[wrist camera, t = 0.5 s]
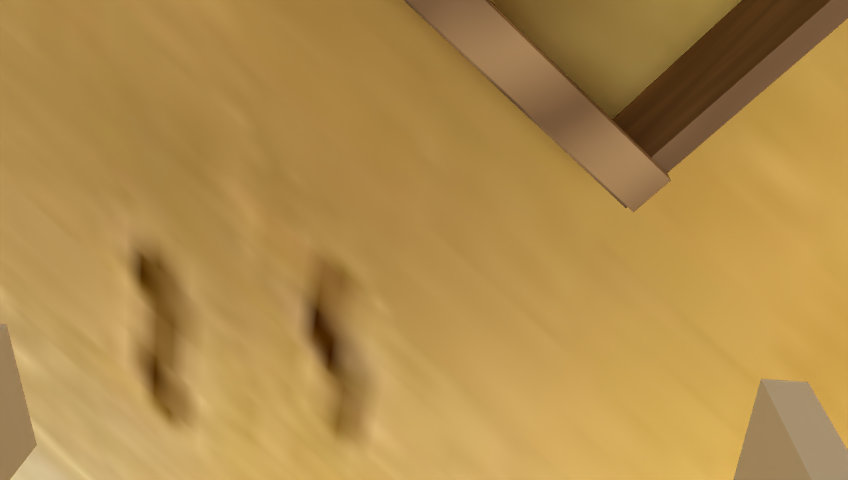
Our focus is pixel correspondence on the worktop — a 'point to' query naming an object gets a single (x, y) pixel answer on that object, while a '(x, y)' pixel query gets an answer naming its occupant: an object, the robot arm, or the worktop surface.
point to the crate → (656, 106)
